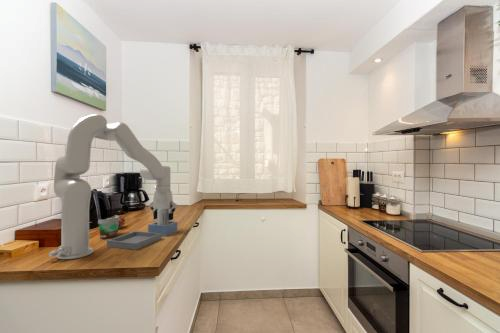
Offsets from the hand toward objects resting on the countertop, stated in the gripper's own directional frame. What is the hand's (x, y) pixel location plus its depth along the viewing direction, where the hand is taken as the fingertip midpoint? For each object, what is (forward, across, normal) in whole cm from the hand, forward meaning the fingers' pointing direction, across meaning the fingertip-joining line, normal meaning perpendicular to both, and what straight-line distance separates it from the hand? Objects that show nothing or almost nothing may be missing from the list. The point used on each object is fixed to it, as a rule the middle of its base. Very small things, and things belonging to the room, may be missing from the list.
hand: (163, 219), depth 140 cm
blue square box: (+7, 0, 0) cm, 7 cm away
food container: (+8, -21, -14) cm, 26 cm away
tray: (+7, -2, -19) cm, 21 cm away
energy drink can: (+8, 0, 0) cm, 8 cm away
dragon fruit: (+8, -32, 0) cm, 33 cm away
